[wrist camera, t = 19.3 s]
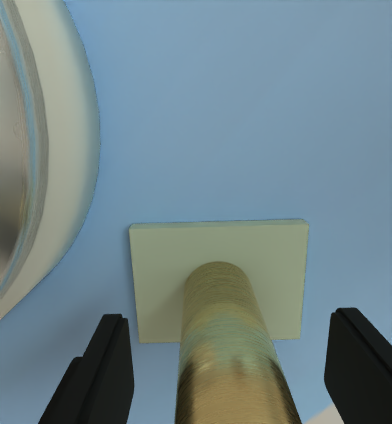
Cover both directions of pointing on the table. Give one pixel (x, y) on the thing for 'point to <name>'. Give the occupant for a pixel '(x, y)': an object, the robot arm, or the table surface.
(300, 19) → the table surface
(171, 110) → the table surface
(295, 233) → the mat
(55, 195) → the chuck housing
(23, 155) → the grey round shallow disc
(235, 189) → the table surface
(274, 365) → the brass rounded cylinder
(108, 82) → the table surface
